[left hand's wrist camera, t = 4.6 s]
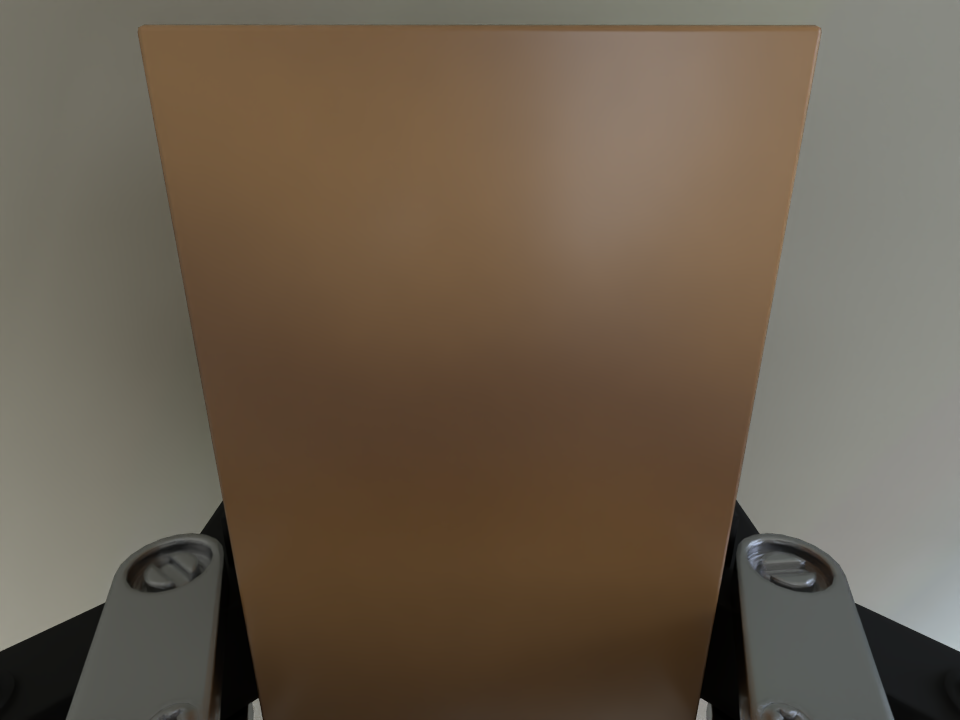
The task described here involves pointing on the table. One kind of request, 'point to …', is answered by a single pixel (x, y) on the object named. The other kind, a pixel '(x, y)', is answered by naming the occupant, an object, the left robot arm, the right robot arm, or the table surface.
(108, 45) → the table surface
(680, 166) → the bar
